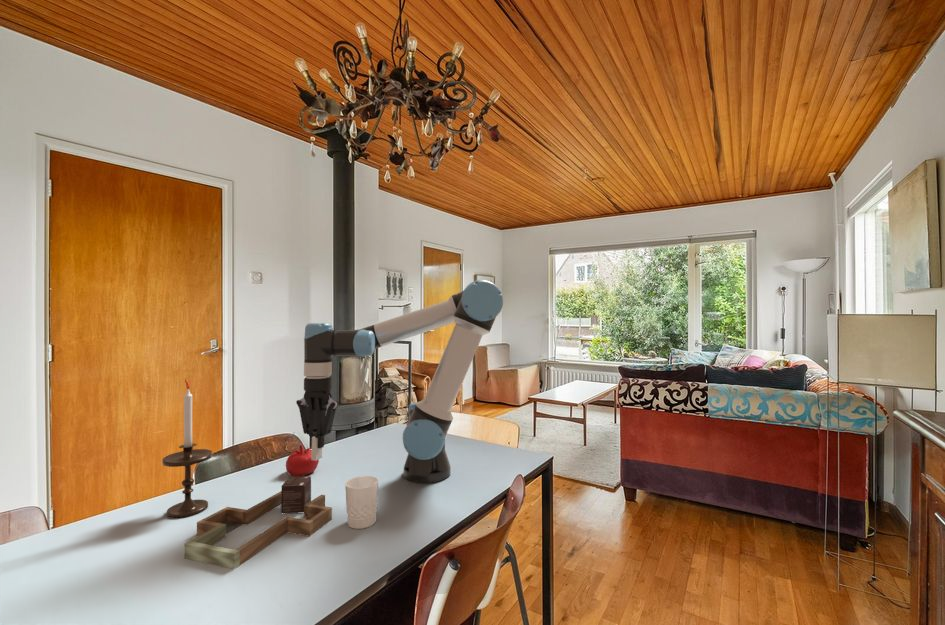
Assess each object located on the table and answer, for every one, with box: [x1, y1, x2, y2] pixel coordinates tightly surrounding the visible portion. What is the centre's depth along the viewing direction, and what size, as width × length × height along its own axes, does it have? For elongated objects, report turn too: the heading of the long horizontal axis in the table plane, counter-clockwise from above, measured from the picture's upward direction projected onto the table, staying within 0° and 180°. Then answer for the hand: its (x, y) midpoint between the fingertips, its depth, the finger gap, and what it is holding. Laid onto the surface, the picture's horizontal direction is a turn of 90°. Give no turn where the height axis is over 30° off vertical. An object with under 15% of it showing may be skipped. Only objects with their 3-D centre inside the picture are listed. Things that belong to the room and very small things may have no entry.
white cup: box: [344, 475, 379, 530], centre depth 104 cm, size 8×8×10 cm
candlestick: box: [162, 378, 213, 519], centre depth 111 cm, size 11×11×35 cm
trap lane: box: [183, 490, 333, 570], centre depth 100 cm, size 26×29×3 cm
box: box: [280, 475, 312, 515], centre depth 112 cm, size 6×6×7 cm
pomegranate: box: [285, 444, 320, 477], centre depth 137 cm, size 10×10×9 cm
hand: (316, 458), depth 120 cm, fingers closed
